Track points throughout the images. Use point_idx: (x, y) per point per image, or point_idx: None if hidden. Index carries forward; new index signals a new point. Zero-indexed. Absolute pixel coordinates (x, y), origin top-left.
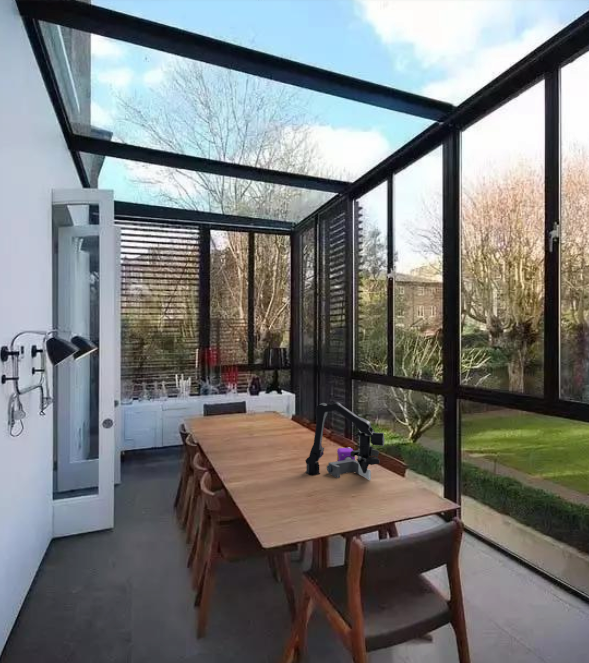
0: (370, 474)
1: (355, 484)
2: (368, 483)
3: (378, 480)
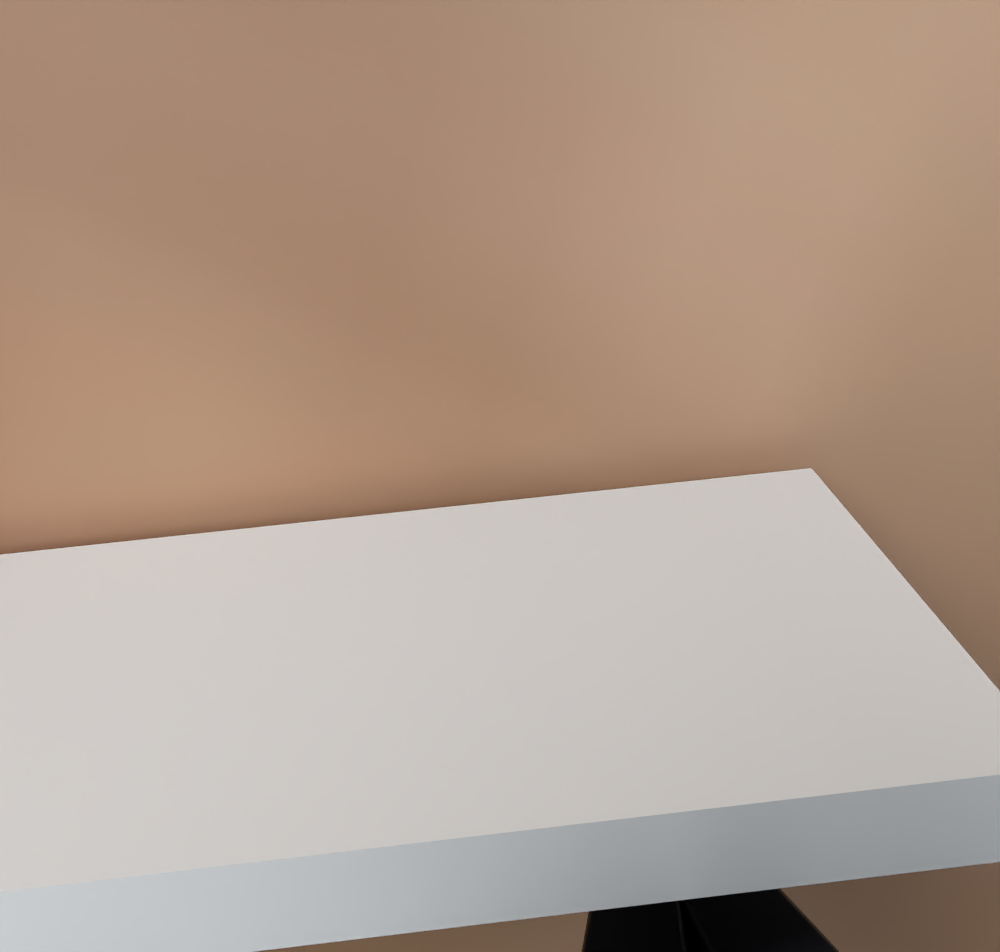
0: (920, 621)
1: (866, 949)
2: (993, 634)
3: (923, 107)
